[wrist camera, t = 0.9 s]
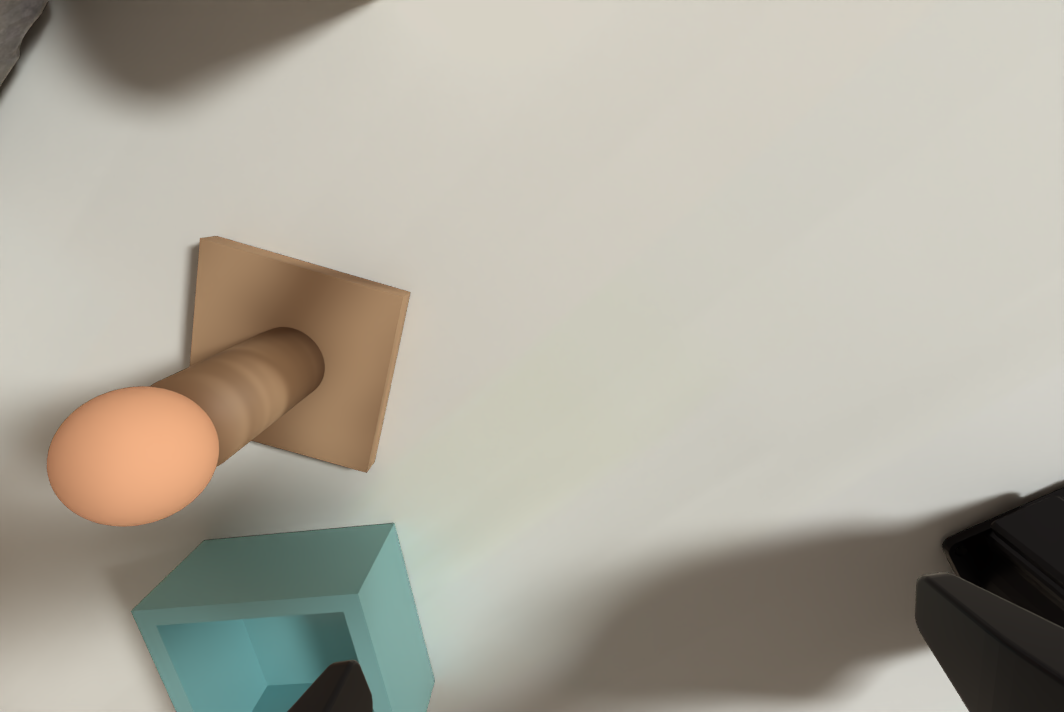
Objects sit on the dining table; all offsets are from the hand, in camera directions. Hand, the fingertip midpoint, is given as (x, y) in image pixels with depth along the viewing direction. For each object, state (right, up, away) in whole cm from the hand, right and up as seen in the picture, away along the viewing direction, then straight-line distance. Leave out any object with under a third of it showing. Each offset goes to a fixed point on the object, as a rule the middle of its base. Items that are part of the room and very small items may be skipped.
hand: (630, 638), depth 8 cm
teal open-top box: (-12, -8, +18) cm, 23 cm away
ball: (-12, +2, +7) cm, 14 cm away
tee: (-11, +5, +14) cm, 19 cm away
